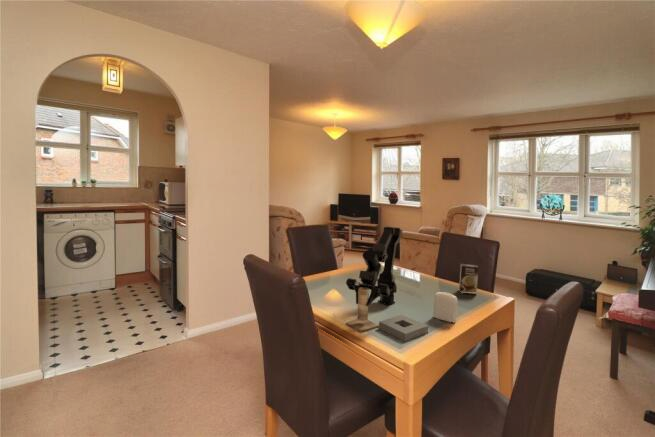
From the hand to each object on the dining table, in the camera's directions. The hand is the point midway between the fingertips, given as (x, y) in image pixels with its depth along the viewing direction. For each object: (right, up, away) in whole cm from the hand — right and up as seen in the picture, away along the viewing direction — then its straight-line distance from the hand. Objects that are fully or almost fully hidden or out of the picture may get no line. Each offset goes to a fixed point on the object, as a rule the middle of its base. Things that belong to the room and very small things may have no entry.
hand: (361, 304), depth 140 cm
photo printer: (+39, -10, +12) cm, 42 cm away
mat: (0, -9, +2) cm, 10 cm away
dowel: (0, -6, +2) cm, 7 cm away
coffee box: (+66, -7, +53) cm, 85 cm away
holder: (+17, -10, -2) cm, 20 cm away
